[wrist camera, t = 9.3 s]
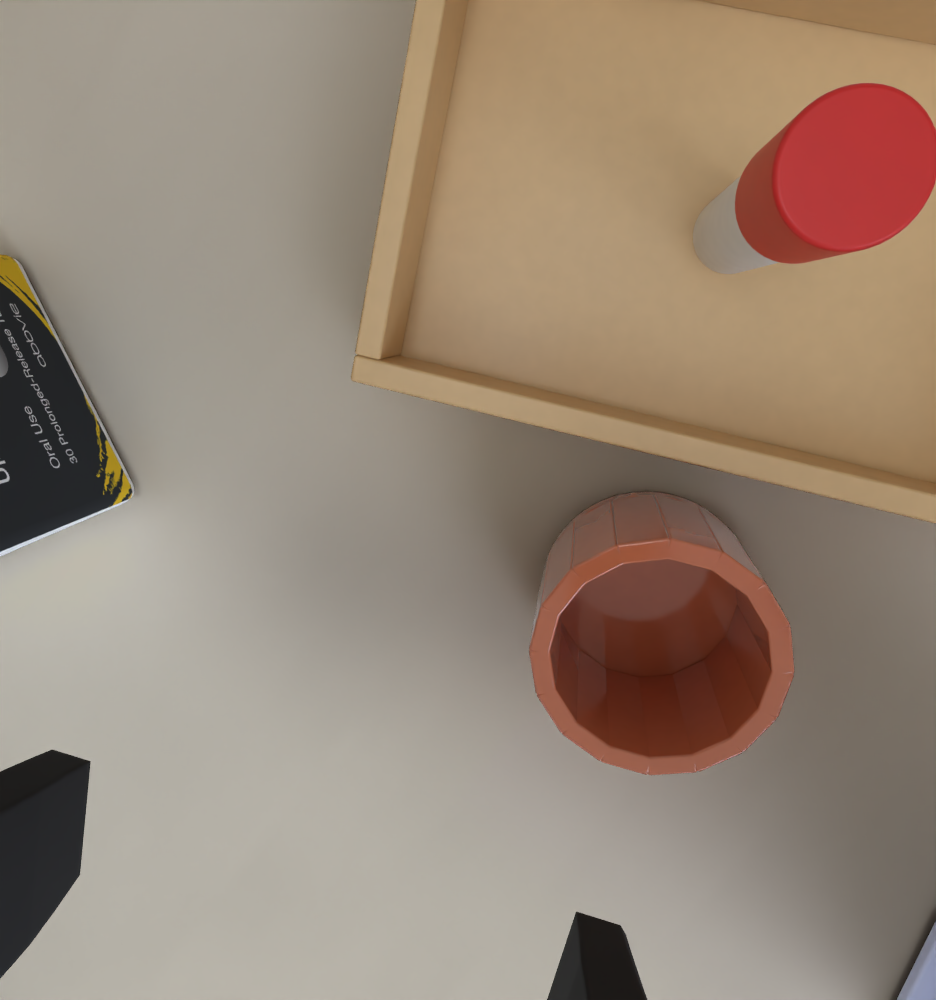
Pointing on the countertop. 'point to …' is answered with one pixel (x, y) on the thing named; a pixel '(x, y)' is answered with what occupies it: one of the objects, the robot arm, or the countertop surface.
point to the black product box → (46, 427)
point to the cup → (657, 637)
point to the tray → (651, 239)
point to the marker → (825, 183)
